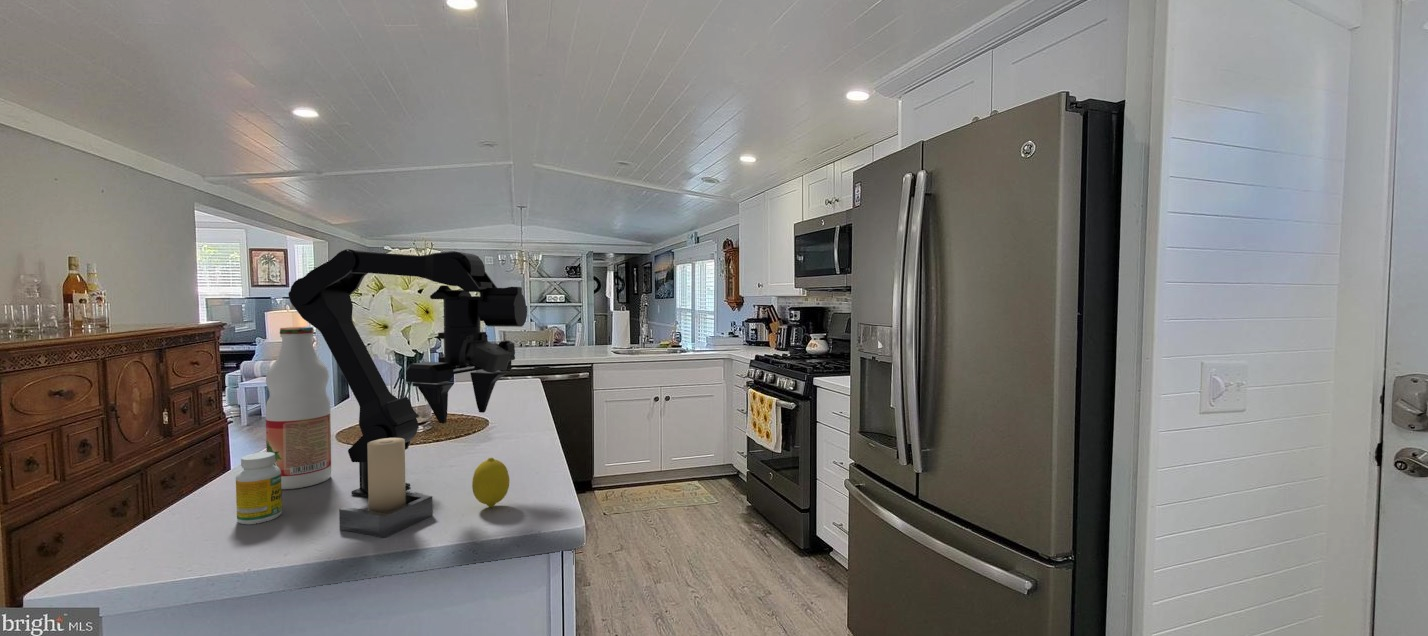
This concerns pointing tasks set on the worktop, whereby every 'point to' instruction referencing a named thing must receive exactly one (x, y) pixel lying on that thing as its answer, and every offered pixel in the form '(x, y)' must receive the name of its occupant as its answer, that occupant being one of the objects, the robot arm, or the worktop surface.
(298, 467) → the fruit juice
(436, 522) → the worktop surface
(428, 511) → the holder
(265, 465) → the supplement bottle
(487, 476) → the lemon
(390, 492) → the paper roll
